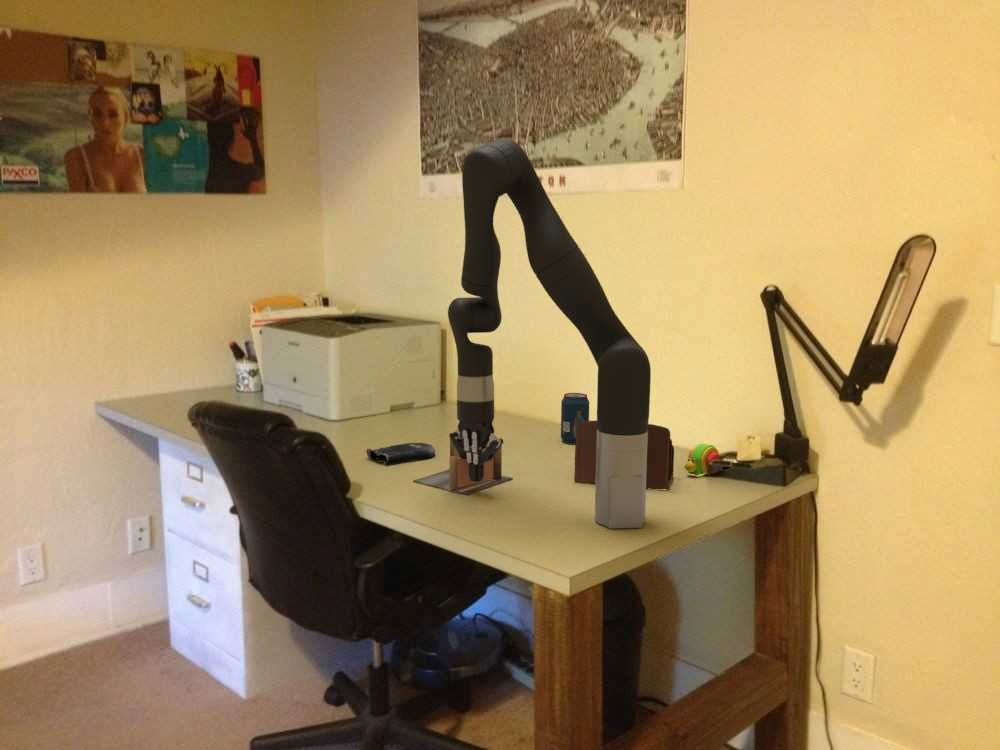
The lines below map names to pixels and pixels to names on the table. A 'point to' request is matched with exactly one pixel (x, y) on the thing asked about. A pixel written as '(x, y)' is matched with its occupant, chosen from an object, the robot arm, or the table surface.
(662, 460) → the letter holder
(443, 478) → the grey and brown panels
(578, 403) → the soda can
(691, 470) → the toy measuring tape
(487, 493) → the table surface
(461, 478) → the swing panel
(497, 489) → the table surface
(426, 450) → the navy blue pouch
